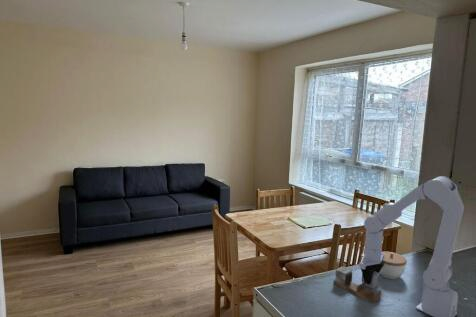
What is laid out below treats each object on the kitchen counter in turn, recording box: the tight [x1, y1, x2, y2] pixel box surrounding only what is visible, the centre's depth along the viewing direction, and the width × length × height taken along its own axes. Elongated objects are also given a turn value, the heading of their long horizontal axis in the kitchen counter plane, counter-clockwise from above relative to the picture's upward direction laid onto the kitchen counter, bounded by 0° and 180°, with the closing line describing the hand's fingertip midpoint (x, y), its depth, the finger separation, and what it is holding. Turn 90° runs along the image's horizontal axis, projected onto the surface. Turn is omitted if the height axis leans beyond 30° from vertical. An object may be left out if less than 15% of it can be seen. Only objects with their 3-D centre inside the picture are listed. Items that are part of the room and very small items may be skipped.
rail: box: [333, 266, 382, 304], centre depth 115 cm, size 16×4×6 cm, turn 38°
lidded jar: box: [379, 250, 408, 280], centre depth 127 cm, size 11×11×9 cm
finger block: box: [361, 271, 380, 289], centre depth 120 cm, size 4×4×5 cm
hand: (370, 281), depth 120 cm, fingers closed on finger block, 4 cm apart
